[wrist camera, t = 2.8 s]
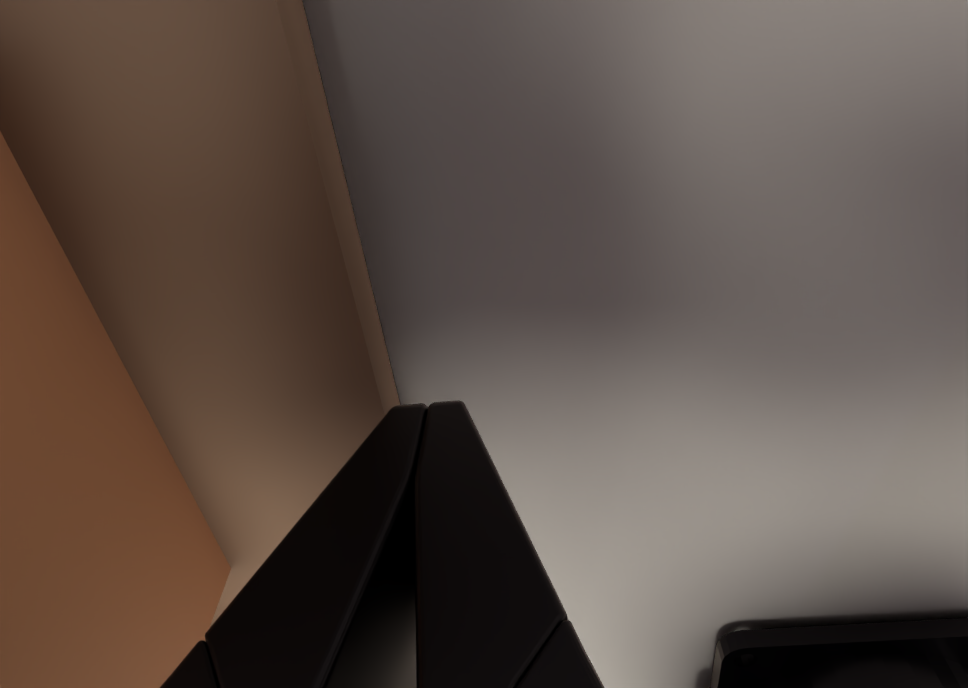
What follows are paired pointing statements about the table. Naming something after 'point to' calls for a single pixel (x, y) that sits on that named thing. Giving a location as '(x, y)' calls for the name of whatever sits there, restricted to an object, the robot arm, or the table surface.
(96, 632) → the tee block
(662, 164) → the table surface
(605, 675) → the table surface
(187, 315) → the board
